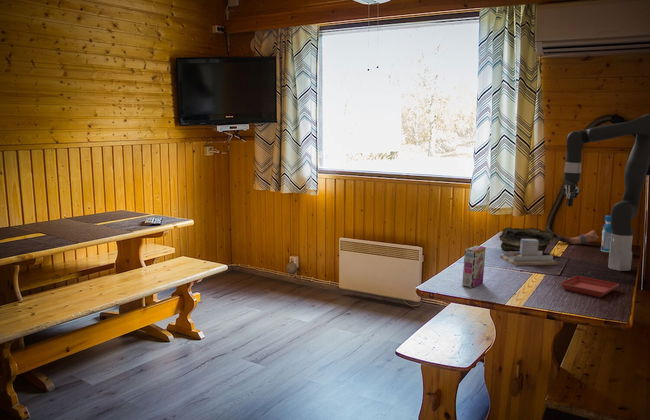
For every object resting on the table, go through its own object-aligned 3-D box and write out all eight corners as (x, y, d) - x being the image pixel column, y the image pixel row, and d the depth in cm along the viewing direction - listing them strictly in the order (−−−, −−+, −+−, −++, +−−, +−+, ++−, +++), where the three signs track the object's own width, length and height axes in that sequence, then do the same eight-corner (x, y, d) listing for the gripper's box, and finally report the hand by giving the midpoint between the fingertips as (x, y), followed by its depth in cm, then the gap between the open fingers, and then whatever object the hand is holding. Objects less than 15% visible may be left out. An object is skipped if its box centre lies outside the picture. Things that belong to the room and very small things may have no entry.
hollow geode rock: (551, 262, 302) (554, 239, 309) (552, 250, 292) (555, 226, 300) (497, 255, 313) (501, 233, 321) (497, 243, 303) (501, 220, 311)
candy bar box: (472, 288, 235) (475, 251, 233) (461, 286, 238) (464, 249, 236) (483, 283, 244) (486, 246, 241) (473, 281, 247) (475, 244, 244)
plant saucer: (558, 290, 237) (559, 282, 237) (576, 282, 249) (576, 275, 249) (603, 300, 224) (604, 292, 224) (619, 291, 237) (619, 283, 236)
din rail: (552, 260, 281) (553, 255, 280) (513, 261, 277) (514, 256, 277) (541, 255, 291) (541, 250, 291) (503, 256, 288) (504, 251, 287)
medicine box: (535, 255, 286) (536, 239, 284) (537, 257, 281) (538, 240, 280) (519, 255, 286) (520, 238, 285) (521, 257, 282) (522, 240, 281)
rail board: (556, 264, 278) (556, 261, 278) (515, 265, 275) (515, 262, 275) (539, 257, 294) (539, 254, 294) (500, 257, 290) (500, 255, 290)
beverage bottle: (608, 253, 305) (611, 217, 302) (596, 249, 313) (600, 214, 310) (620, 252, 307) (624, 217, 304) (609, 249, 315) (612, 214, 312)
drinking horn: (598, 246, 323) (600, 229, 321) (545, 243, 328) (547, 226, 327) (596, 244, 328) (598, 227, 326) (544, 241, 334) (545, 225, 332)
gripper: (587, 172, 270) (584, 208, 273) (571, 170, 283) (568, 204, 286) (573, 172, 269) (570, 208, 272) (558, 170, 282) (555, 204, 285)
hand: (569, 206), depth 279 cm, fingers closed
